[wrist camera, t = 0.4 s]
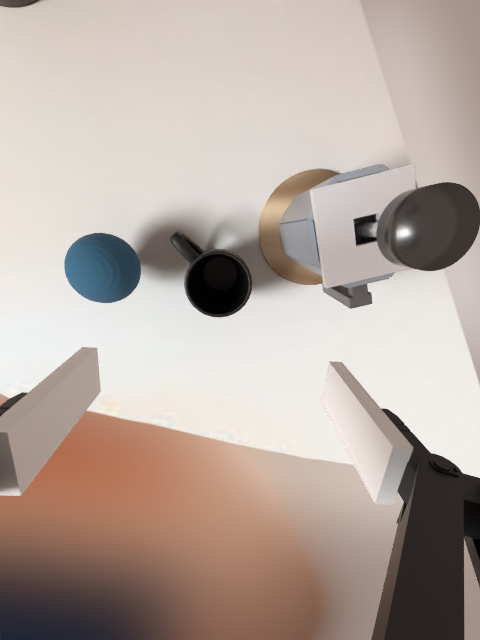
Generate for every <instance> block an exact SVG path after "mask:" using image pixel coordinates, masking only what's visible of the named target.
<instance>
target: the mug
mask: <svg viewBox="0 0 480 640" xmlns="http://www.w3.org/2000/svg"><path fill="white" fill-rule="evenodd" d="M170 241H171V243H172V244H173V246H174V247H175V248H176V249H177V250H178V251H179V252H180V253H181V255H182V256H183V257H184V258H185V259H186V260H187V261H188V262H189V263H190V266H189V268H188V269H187V271H186V275H185V283H184V286H185V291H186V295H187V297H188V299H189V301H190V302H191V304H192V305H193V306H194V307H195V308H196V309H197V310H198V311H200V312H202V313H203V314H205V315H208V316H212V317H225V316H229V315H232V314H234V313H236V312H237V311H239V310H240V309H241V308H242V307H243V306H244V305H245V304H246V302H247V301H248V299H249V297H250V294H251V290H252V279H251V275H250V272H249V269H248V267H247V266H246V264H245V263H244V261H243V260H242V259H241V258H240V257H239V256H238V255H236V254H235V253H233V252H231V251H228V250H225V249H213V250H209V251H206V252H204V251H203V250H202V249H201V248H200V247H199V246H198V245H196V244H195V243H194V242H193V241H192V240H190V239H189V238H188V237H187V236H185V235H184V234H183V233H181V232H179V231H177V232H175V233H174V234H173V235H172V236H171V237H170Z"/></svg>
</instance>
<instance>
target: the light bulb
mask: <svg viewBox="0 0 480 640" xmlns="http://www.w3.org/2000/svg"><path fill="white" fill-rule="evenodd" d="M65 273H66V277H67V279H68V281H69V283H70V284H71V286H72V287H73V288H74V289H75V290H76V291H77V292H78V293H79V294H80V295H82V296H83V297H85V298H87V299H89V300H92V301H95V302H101V303H112V302H116V301H119V300H122V299H124V298H126V297H127V296H128V295H130V294H131V293H132V292H133V291H134V289H135V288H136V287H137V285H138V283H139V280H140V275H141V267H140V262H139V259H138V256H137V255H136V253H135V251H134V250H133V249H132V248H131V246H130V245H129V244H128V243H126V242H125V241H124V240H122V239H120V238H119V237H116V236H113V235H110V234H105V233H94V234H90V235H86V236H84V237H82V238H80V239H78V240H77V241H76V242H75V243H74V244H72V246H71V247H70V248H69V250H68V252H67V254H66V257H65Z"/></svg>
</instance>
